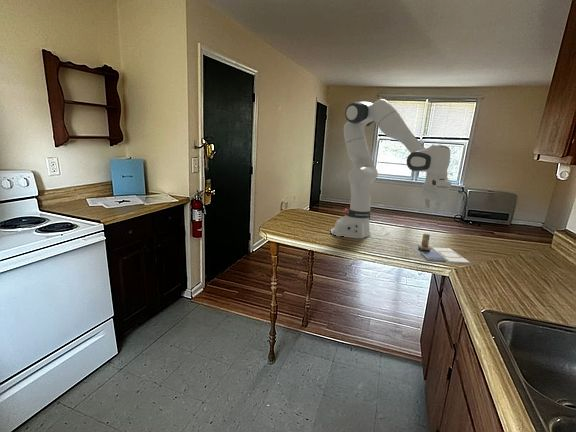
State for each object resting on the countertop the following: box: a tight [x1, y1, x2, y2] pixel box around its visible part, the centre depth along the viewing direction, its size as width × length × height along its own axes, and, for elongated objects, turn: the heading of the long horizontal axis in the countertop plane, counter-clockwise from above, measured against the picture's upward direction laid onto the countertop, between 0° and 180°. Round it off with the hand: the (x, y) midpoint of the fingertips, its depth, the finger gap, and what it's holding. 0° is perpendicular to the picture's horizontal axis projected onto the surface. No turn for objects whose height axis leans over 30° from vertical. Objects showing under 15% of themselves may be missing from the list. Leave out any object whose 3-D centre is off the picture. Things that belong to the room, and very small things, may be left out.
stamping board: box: [409, 245, 473, 264], centre depth 147 cm, size 20×20×2 cm
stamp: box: [417, 233, 431, 252], centre depth 151 cm, size 4×4×8 cm
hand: (431, 209), depth 147 cm, fingers open, 8 cm apart
